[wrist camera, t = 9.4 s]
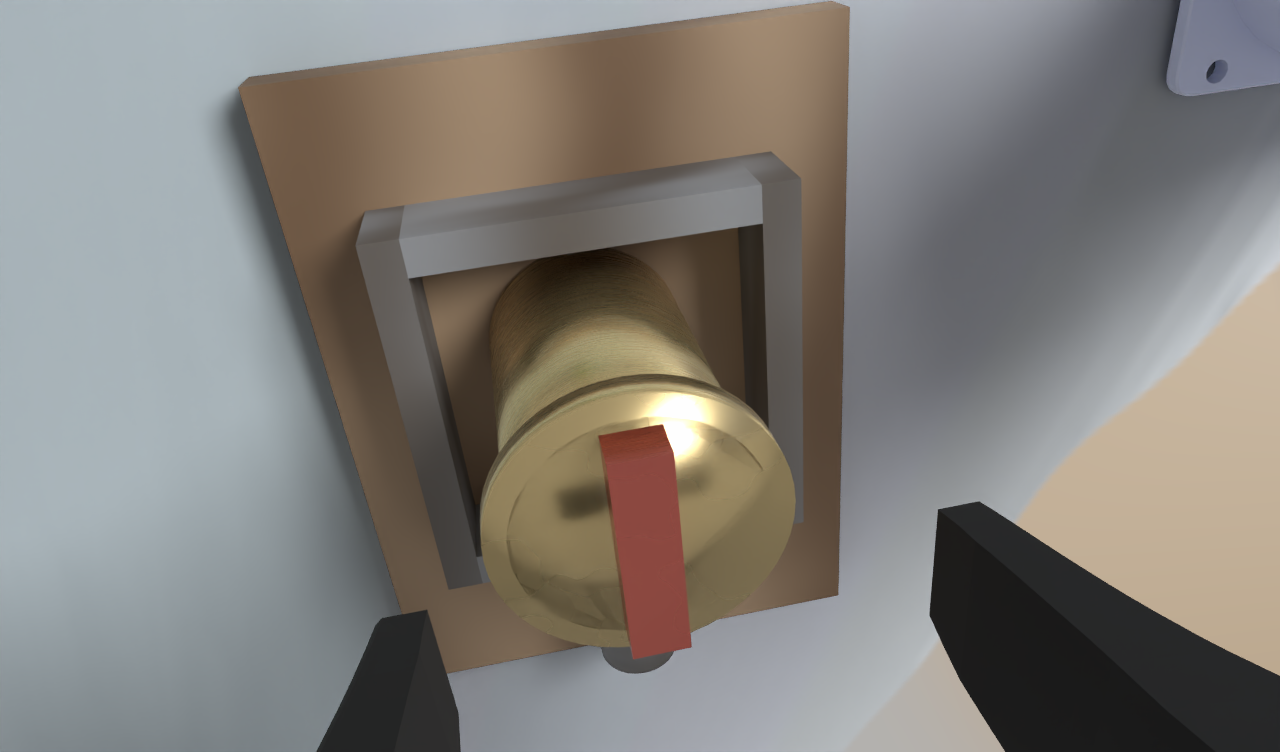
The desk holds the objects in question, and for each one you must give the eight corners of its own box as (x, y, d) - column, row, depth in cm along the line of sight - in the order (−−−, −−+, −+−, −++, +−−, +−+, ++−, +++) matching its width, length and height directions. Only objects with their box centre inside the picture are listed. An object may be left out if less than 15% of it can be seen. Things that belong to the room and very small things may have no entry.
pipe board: (831, 1, 19) (890, 21, 16) (826, 572, 27) (864, 646, 24) (248, 77, 18) (213, 111, 15) (423, 651, 26) (419, 738, 23)
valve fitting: (689, 211, 20) (812, 392, 13) (702, 411, 22) (811, 646, 16) (449, 249, 19) (451, 458, 12) (492, 449, 22) (512, 710, 15)
